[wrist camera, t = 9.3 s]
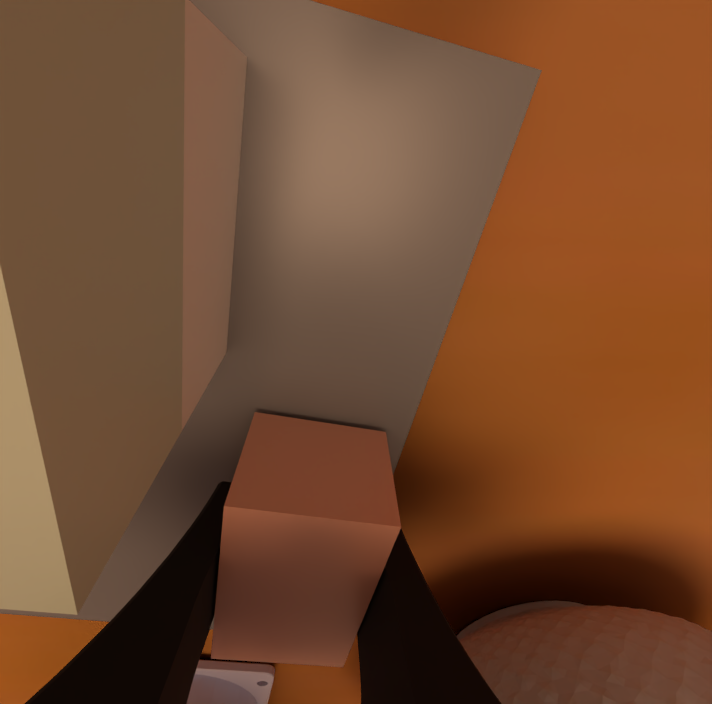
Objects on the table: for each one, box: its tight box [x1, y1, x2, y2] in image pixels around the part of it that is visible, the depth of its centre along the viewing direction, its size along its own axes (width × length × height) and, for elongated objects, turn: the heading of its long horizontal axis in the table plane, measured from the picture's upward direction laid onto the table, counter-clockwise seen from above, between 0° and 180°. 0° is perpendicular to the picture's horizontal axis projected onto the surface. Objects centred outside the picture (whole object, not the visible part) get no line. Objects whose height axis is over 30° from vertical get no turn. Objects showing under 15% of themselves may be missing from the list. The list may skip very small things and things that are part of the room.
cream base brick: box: [182, 0, 247, 430], centre depth 6 cm, size 6×4×3 cm, turn 167°
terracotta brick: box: [211, 412, 401, 667], centre depth 10 cm, size 6×4×3 cm, turn 167°
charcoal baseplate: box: [0, 0, 542, 629], centre depth 11 cm, size 20×14×1 cm
